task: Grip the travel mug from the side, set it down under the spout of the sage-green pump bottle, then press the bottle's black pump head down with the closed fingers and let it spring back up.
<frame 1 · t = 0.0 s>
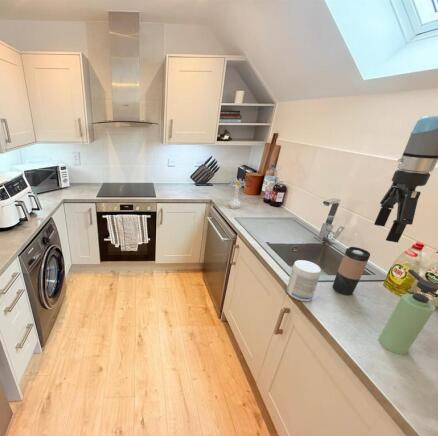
hand: (384, 232, 80), 34 cm above the worktop, tool pointing down, fingers open, 13 cm apart
soap bottle: (392, 345, 79), on the worktop
travel mug: (342, 290, 105), on the worktop
supplement tub: (298, 294, 102), on the worktop
pump head: (419, 282, 72), point 24 cm above the worktop, slide at 0.1 cm
flower vase: (233, 207, 199), on the worktop
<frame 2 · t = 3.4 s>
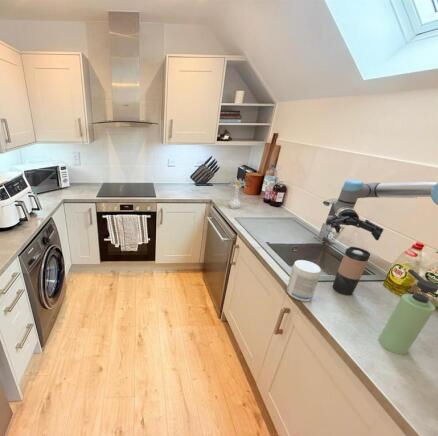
hand: (358, 233, 102), 24 cm above the worktop, tool horizontal, fingers open, 13 cm apart
nothing on the worktop moved.
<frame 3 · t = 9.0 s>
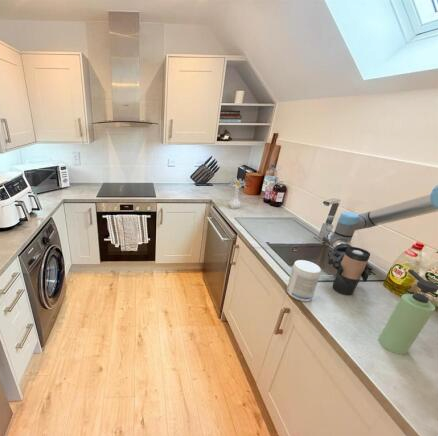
hand: (353, 275, 96), 11 cm above the worktop, tool horizontal, fingers closed on travel mug, 7 cm apart
travel mug: (342, 290, 104), on the worktop, touching gripper
everything else where it was.
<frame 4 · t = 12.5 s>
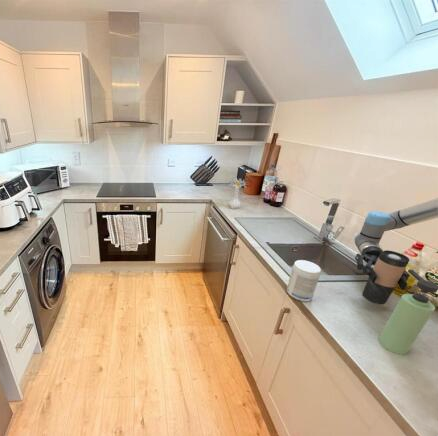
hand: (389, 283, 85), 15 cm above the worktop, tool horizontal, fingers closed on travel mug, 7 cm apart
travel mug: (373, 298, 94), point 4 cm above the worktop, touching gripper
everything else where it was.
when the fingers open (11 cm above the worktop, at t = 16.0 s): travel mug stays where it is, on the worktop.
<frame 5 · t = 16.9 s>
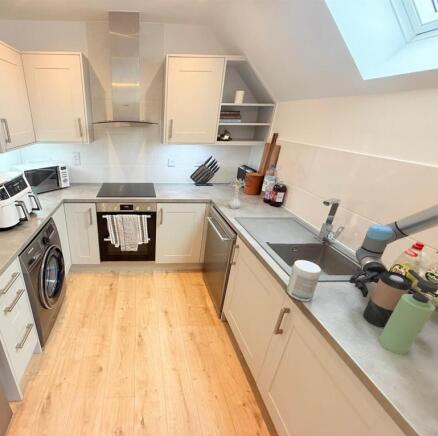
hand: (391, 301, 82), 12 cm above the worktop, tool horizontal, fingers open, 13 cm apart
travel mug: (374, 320, 89), on the worktop
everything else where it was.
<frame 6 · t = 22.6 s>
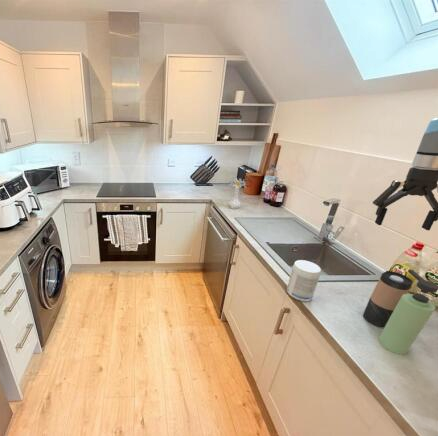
hand: (400, 226, 86), 34 cm above the worktop, tool pointing down, fingers open, 13 cm apart
nothing on the worktop moved.
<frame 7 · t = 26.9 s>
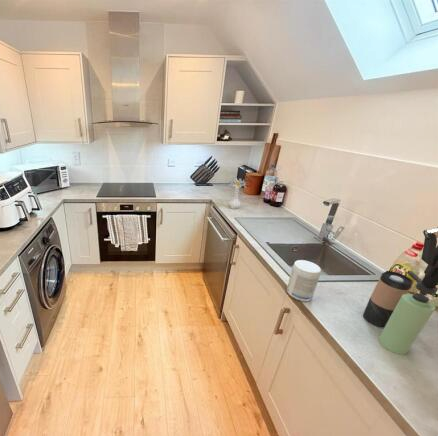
hand: (427, 285, 69), 25 cm above the worktop, tool pointing down, fingers closed
pump head: (418, 283, 72), point 24 cm above the worktop, slide at -0.5 cm, touching gripper
everything else where it was.
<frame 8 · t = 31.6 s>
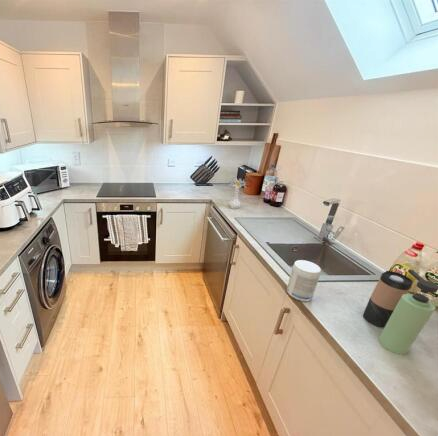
pump head: (419, 281, 72), point 24 cm above the worktop, slide at 0.1 cm
everything else where it was.
at the end: travel mug inside the target area on the worktop beside the soap bottle (0.1 cm from its centre), on the worktop; pump head pushed in 1.1 cm at the most during the clip, back to where it started at the end; pump head slide at 0.1 cm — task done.
